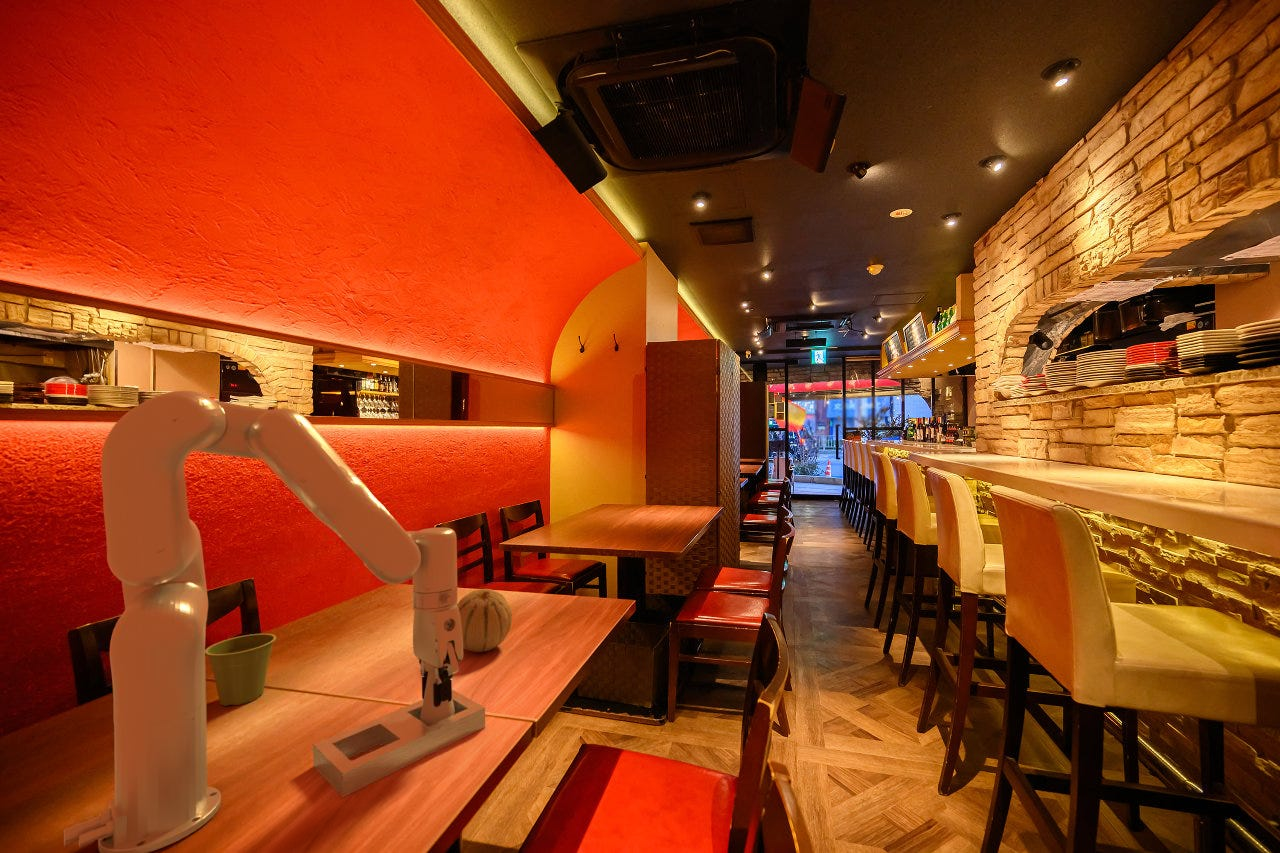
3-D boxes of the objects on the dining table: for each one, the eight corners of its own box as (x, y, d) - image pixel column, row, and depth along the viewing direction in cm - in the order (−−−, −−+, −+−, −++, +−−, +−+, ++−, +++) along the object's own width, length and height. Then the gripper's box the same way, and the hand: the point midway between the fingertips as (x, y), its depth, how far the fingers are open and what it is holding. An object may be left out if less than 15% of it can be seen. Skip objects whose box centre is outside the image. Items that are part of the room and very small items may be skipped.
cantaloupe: (481, 634, 142) (480, 578, 143) (524, 643, 136) (523, 584, 136) (437, 655, 129) (436, 593, 130) (482, 666, 122) (481, 600, 123)
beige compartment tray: (342, 797, 78) (342, 773, 78) (313, 766, 86) (313, 744, 86) (485, 727, 96) (485, 707, 96) (450, 706, 104) (450, 688, 104)
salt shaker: (443, 738, 92) (442, 663, 93) (413, 735, 94) (412, 660, 94) (460, 720, 98) (460, 649, 98) (432, 718, 99) (431, 647, 99)
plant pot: (290, 687, 114) (289, 634, 114) (235, 716, 103) (234, 657, 103) (248, 682, 117) (247, 630, 117) (190, 709, 106) (189, 652, 106)
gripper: (479, 600, 94) (481, 706, 93) (432, 585, 104) (433, 680, 104) (439, 612, 88) (441, 724, 88) (393, 594, 99) (395, 694, 98)
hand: (436, 699), depth 96 cm, fingers open, 3 cm apart
